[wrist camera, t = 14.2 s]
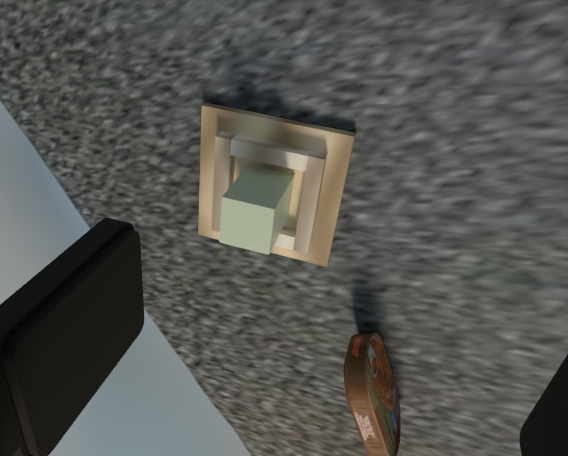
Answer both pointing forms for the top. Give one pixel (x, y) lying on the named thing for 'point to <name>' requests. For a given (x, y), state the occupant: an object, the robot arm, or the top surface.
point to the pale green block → (256, 208)
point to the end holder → (281, 157)
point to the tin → (372, 394)
